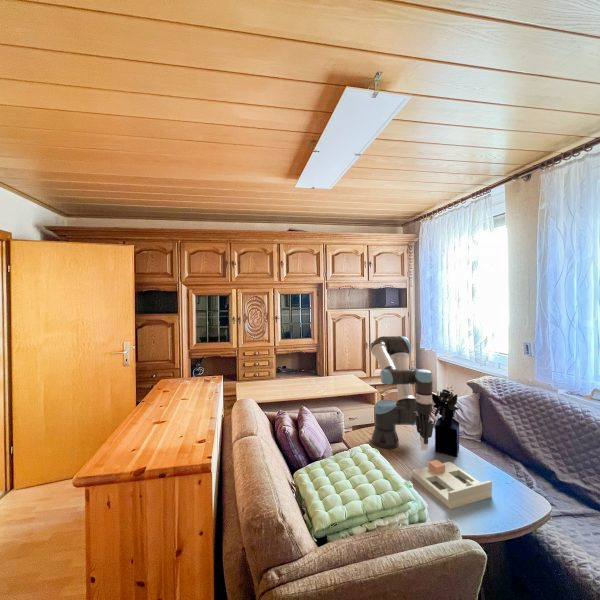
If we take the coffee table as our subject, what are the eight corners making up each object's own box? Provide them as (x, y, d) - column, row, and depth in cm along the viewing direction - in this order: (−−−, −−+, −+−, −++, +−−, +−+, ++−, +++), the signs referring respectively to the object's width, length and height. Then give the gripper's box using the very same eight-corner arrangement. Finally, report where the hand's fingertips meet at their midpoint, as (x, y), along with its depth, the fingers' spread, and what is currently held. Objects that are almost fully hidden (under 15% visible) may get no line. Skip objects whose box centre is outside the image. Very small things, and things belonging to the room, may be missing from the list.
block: (428, 467, 147) (428, 461, 147) (437, 465, 149) (437, 459, 149) (436, 473, 142) (436, 467, 142) (444, 471, 144) (444, 465, 144)
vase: (428, 451, 168) (428, 387, 167) (432, 442, 177) (432, 381, 176) (458, 458, 160) (458, 391, 159) (460, 449, 170) (460, 385, 169)
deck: (412, 476, 145) (412, 462, 145) (449, 467, 152) (449, 454, 152) (450, 509, 124) (450, 493, 123) (491, 496, 131) (491, 481, 130)
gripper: (408, 398, 158) (409, 444, 158) (427, 407, 145) (427, 457, 146) (421, 396, 160) (421, 442, 160) (439, 405, 148) (440, 454, 148)
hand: (424, 449), depth 153 cm, fingers closed
